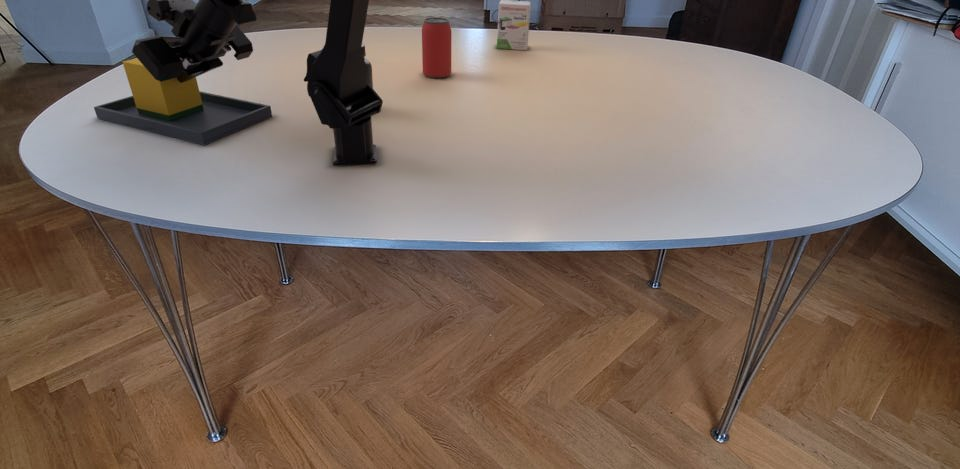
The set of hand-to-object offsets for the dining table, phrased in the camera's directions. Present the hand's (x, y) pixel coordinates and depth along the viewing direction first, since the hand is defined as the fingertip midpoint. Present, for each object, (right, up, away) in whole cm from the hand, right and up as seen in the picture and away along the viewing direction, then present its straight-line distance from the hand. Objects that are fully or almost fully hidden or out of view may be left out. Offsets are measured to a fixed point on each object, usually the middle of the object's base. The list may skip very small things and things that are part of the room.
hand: (180, 80), depth 92 cm
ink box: (+60, +25, +58) cm, 87 cm away
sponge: (-4, -4, +5) cm, 8 cm away
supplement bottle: (+28, -3, +10) cm, 30 cm away
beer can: (+41, +10, +32) cm, 53 cm away
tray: (-1, -6, +4) cm, 7 cm away
